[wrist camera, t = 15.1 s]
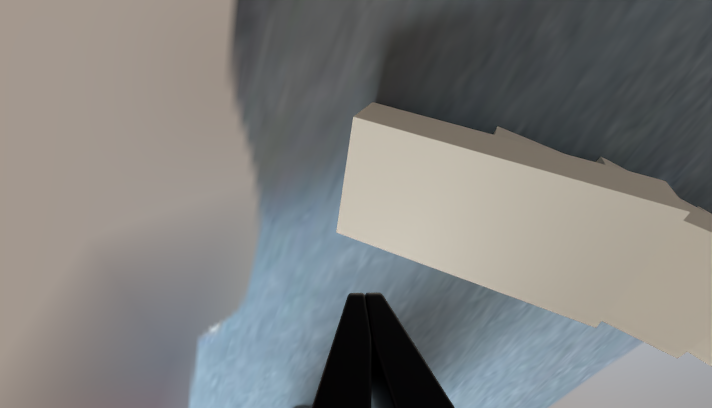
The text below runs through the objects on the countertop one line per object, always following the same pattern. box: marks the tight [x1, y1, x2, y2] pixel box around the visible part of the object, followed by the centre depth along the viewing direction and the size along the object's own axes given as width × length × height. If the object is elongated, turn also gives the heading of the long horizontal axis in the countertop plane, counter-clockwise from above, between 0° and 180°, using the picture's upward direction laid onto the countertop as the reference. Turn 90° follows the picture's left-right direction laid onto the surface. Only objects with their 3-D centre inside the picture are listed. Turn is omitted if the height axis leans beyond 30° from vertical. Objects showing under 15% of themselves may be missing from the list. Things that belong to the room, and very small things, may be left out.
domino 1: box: [336, 102, 690, 328], centre depth 13 cm, size 2×5×10 cm
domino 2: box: [493, 126, 712, 358], centre depth 14 cm, size 2×5×10 cm
